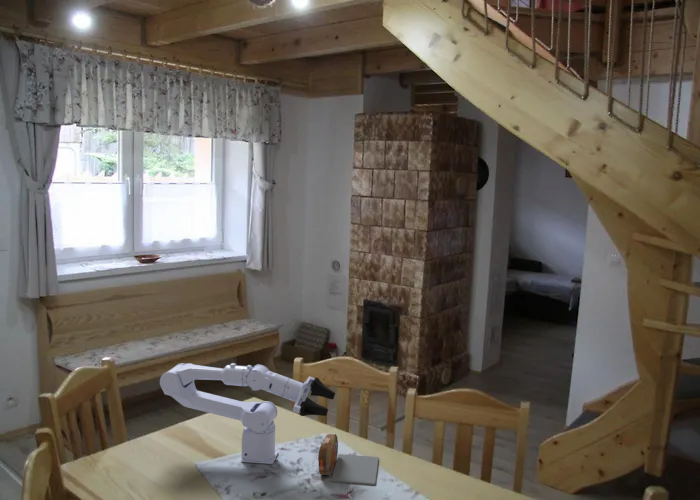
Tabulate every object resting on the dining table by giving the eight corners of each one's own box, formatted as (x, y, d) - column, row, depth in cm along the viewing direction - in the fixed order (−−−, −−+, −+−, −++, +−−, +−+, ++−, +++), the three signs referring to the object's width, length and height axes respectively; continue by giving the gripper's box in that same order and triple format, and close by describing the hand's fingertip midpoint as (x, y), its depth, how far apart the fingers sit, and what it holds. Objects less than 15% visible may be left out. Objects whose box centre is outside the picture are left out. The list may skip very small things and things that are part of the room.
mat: (331, 481, 163) (331, 480, 163) (338, 455, 179) (338, 454, 179) (375, 485, 162) (375, 483, 162) (378, 458, 178) (378, 457, 178)
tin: (327, 481, 164) (327, 451, 163) (316, 479, 164) (316, 450, 163) (338, 456, 178) (339, 429, 178) (328, 455, 179) (329, 428, 178)
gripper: (280, 392, 165) (327, 409, 163) (297, 363, 178) (340, 378, 176) (276, 411, 168) (321, 428, 166) (292, 381, 181) (334, 396, 179)
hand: (330, 404), depth 171 cm, fingers open, 7 cm apart
